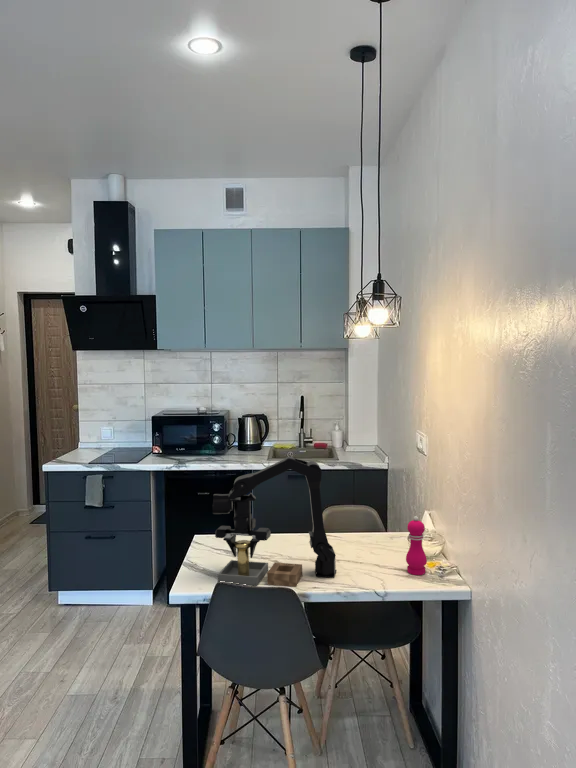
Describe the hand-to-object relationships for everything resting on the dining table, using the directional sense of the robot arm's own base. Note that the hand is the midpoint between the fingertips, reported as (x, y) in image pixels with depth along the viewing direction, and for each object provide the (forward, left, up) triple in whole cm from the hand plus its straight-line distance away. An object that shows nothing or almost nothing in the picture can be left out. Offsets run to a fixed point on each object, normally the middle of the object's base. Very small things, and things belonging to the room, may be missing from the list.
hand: (243, 557), depth 193 cm
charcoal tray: (0, 0, -7) cm, 7 cm away
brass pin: (0, 0, -6) cm, 6 cm away
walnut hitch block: (-15, 0, -7) cm, 17 cm away
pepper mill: (-59, -16, -7) cm, 61 cm away
